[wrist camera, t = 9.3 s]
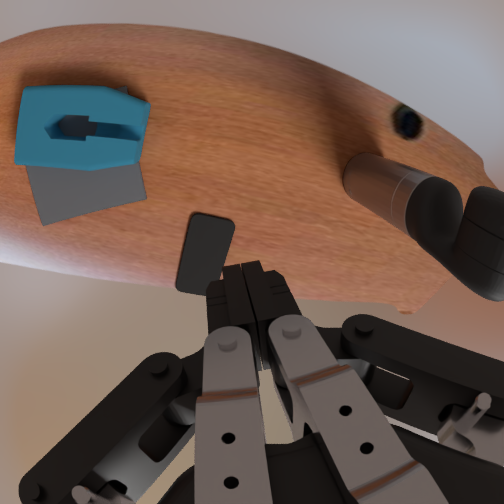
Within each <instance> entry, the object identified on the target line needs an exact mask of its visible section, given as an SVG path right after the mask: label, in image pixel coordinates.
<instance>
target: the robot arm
mask: <svg viewBox="0 0 504 504" xmlns="http://www.w3.org/2000/svg"><path fill="white" fill-rule="evenodd" d="M343 183H344V188H345V191H346V192H347V194H348V195H349V196H350V198H352V199H353V200H355V201H356V202H358V203H360V204H361V205H363V206H364V207H366V208H367V209H369V210H371V211H372V212H374V213H375V214H377V215H378V216H380V217H381V218H383V219H384V220H386V221H387V222H389V223H390V224H392V225H393V226H395V227H396V228H398V229H399V230H401V231H402V232H404V233H405V234H407V235H408V236H410V237H411V238H412V239H414V240H415V241H417V243H418V244H419V245H420V246H421V247H422V248H423V249H424V250H425V251H426V252H428V253H429V254H430V255H431V256H433V257H434V258H435V259H436V260H437V261H439V262H440V263H441V264H442V265H443V266H444V267H445V268H446V269H447V270H448V271H449V272H450V273H452V274H453V275H454V276H455V277H456V278H457V279H458V280H460V281H461V282H462V283H463V284H464V285H465V286H467V287H468V288H469V289H471V290H472V291H473V292H475V293H476V294H478V295H480V296H482V297H483V298H485V299H488V300H492V301H503V300H504V192H502V191H499V190H497V189H494V188H490V187H485V186H479V187H476V188H474V189H473V190H472V191H471V193H470V195H469V198H468V200H467V203H466V207H465V210H464V213H463V203H462V198H461V195H460V193H459V191H458V189H457V188H456V187H455V186H454V185H453V184H452V183H451V182H449V181H447V180H444V179H442V178H439V177H437V176H434V175H432V174H429V173H427V172H424V171H421V170H418V169H416V168H413V167H410V166H407V165H405V164H402V163H399V162H396V161H393V160H390V159H387V158H384V157H381V156H378V155H375V154H371V153H361V154H358V155H356V156H355V157H353V158H352V159H351V160H350V162H349V163H348V164H347V166H346V168H345V171H344V176H343ZM463 214H464V215H463ZM241 268H242V270H241ZM222 272H223V279H222V280H216V281H211V282H210V283H209V285H208V287H207V289H206V302H207V319H208V336H207V338H206V340H205V343H204V347H202V349H200V350H199V351H198V352H196V353H194V354H192V355H190V356H187V357H185V358H182V359H180V358H179V357H178V356H176V355H175V354H172V353H168V352H160V353H155V354H153V355H150V356H149V357H147V358H146V359H145V360H143V361H142V362H141V363H140V364H139V365H138V366H137V367H136V368H135V369H134V370H133V371H132V372H131V373H130V374H129V375H128V376H127V377H126V378H125V379H124V380H123V381H122V382H121V383H120V384H119V385H118V386H116V388H114V389H113V390H112V391H111V392H110V393H109V394H108V395H107V396H106V397H105V398H104V399H103V400H102V401H101V402H100V403H99V404H98V405H97V406H96V407H95V408H94V409H93V410H92V411H91V412H90V413H89V414H87V416H85V418H83V419H82V420H81V421H80V422H79V423H78V424H77V425H76V426H75V427H74V428H73V429H72V430H71V431H70V432H69V433H68V434H67V435H66V436H65V437H64V438H63V439H62V440H61V441H59V442H58V443H57V444H56V445H55V446H54V447H53V448H52V449H51V450H50V451H49V452H48V453H47V454H46V455H45V456H44V457H43V458H42V459H41V460H40V461H39V462H38V463H37V464H36V465H35V466H34V467H32V468H31V469H30V470H29V471H28V472H27V473H26V474H25V475H24V476H23V478H22V479H21V481H20V484H19V497H20V500H21V502H22V504H136V502H137V500H139V498H140V497H141V496H142V495H143V494H144V493H145V492H146V491H147V490H148V488H149V487H150V486H151V485H152V484H153V483H154V482H155V480H156V479H157V478H158V477H159V476H160V475H161V474H162V472H163V471H164V470H165V469H166V468H167V466H168V465H169V464H170V463H171V462H172V461H173V460H174V458H175V457H176V456H177V455H178V454H179V452H180V451H181V450H182V449H183V447H184V446H185V445H186V444H187V443H188V441H189V440H190V439H191V438H192V436H193V435H194V434H195V465H193V466H192V467H190V468H189V469H187V470H186V471H185V472H183V474H181V475H180V476H179V477H178V478H177V479H176V481H175V482H174V483H173V484H172V486H171V487H170V488H169V489H168V491H167V492H166V493H165V494H164V496H163V497H162V498H161V500H160V501H159V502H158V503H157V504H504V467H503V466H504V362H503V361H500V360H497V359H494V358H491V357H488V356H485V355H482V354H479V353H476V352H473V351H470V350H467V349H464V348H462V347H459V346H456V345H453V344H450V343H447V342H444V341H441V340H439V339H436V338H433V337H430V336H427V335H424V334H421V333H419V332H416V331H413V330H410V329H407V328H405V327H402V326H399V325H396V324H393V323H391V322H388V321H385V320H383V319H380V318H377V317H374V316H371V315H367V314H358V315H354V316H351V317H349V318H348V319H346V320H345V321H344V323H343V325H342V328H322V327H318V326H314V324H313V323H312V322H311V321H310V320H309V319H308V318H306V317H304V316H302V314H301V312H300V310H299V308H298V306H297V303H296V302H295V299H294V297H293V295H292V293H291V292H290V289H289V287H288V285H287V283H286V281H285V279H284V277H283V276H282V275H281V274H279V273H278V272H277V271H275V270H272V271H266V272H264V271H263V268H262V266H261V263H260V261H259V260H258V261H252V262H246V263H241V267H240V264H235V265H230V266H224V267H222ZM260 357H261V360H260ZM261 361H262V364H263V369H264V370H266V369H271V372H272V375H273V382H274V388H275V391H276V393H277V395H278V398H279V400H280V403H281V405H282V408H283V411H284V413H285V416H286V418H287V420H288V423H289V426H290V428H291V431H292V435H293V440H294V442H292V443H289V444H267V442H266V436H265V429H264V422H263V415H262V408H261V401H260V394H259V386H260V382H259V375H258V371H262V367H261ZM376 366H378V367H381V368H383V369H385V370H388V371H390V372H393V373H395V374H398V375H401V376H403V377H406V378H408V379H409V380H407V379H404V378H402V377H399V376H397V375H394V374H391V373H389V372H387V371H384V370H382V369H379V368H377V367H376ZM384 415H386V416H388V417H391V418H393V419H396V420H398V421H400V422H403V423H405V424H408V425H410V426H413V427H416V428H418V429H421V430H423V431H426V432H429V433H431V434H434V435H437V437H438V441H439V443H437V442H435V441H432V440H430V439H427V438H425V437H423V436H420V435H418V434H415V433H413V432H411V431H409V430H406V429H404V428H402V427H400V426H396V425H393V424H390V423H389V422H388V420H387V419H386V417H385V416H384Z"/></svg>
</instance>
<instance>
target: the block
mask: <svg viewBox="0 0 504 504" xmlns="http://www.w3.org/2000/svg"><path fill="white" fill-rule="evenodd" d="M150 107H151V104H150V103H148V102H145V101H143V100H140V99H138V98H135V97H133V96H130V95H128V94H125V93H123V92H120V91H118V90H115V89H112V88H109V87H106V86H90V85H45V86H27V87H25V88H24V90H23V94H22V99H21V105H20V111H19V118H18V125H17V134H16V144H15V158H14V162H15V164H16V165H29V166H42V167H54V168H65V169H75V170H84V171H93V170H99V169H105V168H111V167H118V166H124V165H131V164H136V163H137V162H138V161H139V160H140V157H141V152H142V146H143V141H144V136H145V131H146V126H147V121H148V116H149V112H150ZM66 115H84V116H89V121H92V122H97V129H96V133H95V135H94V136H91V135H88V136H86V137H78V136H65V135H64V134H63V132H62V131H61V129H60V127H59V126H58V124H59V122H60V121H61V120H62V119H63V118H64V117H65V116H66Z"/></svg>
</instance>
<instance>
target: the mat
mask: <svg viewBox="0 0 504 504" xmlns="http://www.w3.org/2000/svg"><path fill="white" fill-rule="evenodd" d="M115 90H118V91H120V92H123V93H125V94H128V90H127V86H123V87H120V88H116V89H115ZM58 126H59V127H60V129H61V131H62V132H63V134H64V135H65V136H78V137H86V136H88V135H91V136H94V135H95V133H96V129H97V122H92V121H89V116H84V115H66V116H65V117H64V118H63V119H62V120H61V121H60V122H59V124H58ZM26 168H27V172H28V176H29V180H30V184H31V188H32V192H33V196H34V199H35V203H36V206H37V209H38V213H39V216H40V219H41V222H42V225H43V226H45V225H48V224H52V223H55V222H59V221H62V220H66V219H69V218H73V217H76V216H80V215H84V214H87V213H91V212H95V211H99V210H103V209H107V208H111V207H115V206H119V205H124V204H128V203H132V202H137V201H141V200H145V199H147V197H146V192H145V188H144V183H143V178H142V174H141V169H140V164H139V161H138V162H137V163H136V164H131V165H124V166H118V167H111V168H105V169H99V170H93V171H84V170H75V169H65V168H54V167H42V166H29V165H26Z"/></svg>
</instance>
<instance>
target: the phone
mask: <svg viewBox="0 0 504 504" xmlns="http://www.w3.org/2000/svg"><path fill="white" fill-rule="evenodd" d="M234 230H235V224H234V222H233V221H231V220H228V219H224V218H219V217H215V216H210V215H206V214H201V213H196V214H194V215H193V216H192V218H191V221H190V225H189V227H188V232H187V235H186V240H185V244H184V250H183V254H182V259H181V263H180V268H179V272H178V277H177V282H176V289H177V290H178V291H180V292H185V293H190V294H196V295H203V296H206V289H207V287H208V285H209V283H210V282H211V281H216V280H219V279H220V276H221V273H222V267H223V266H224V263H225V260H226V256H227V253H228V250H229V247H230V243H231V240H232V237H233V234H234Z"/></svg>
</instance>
